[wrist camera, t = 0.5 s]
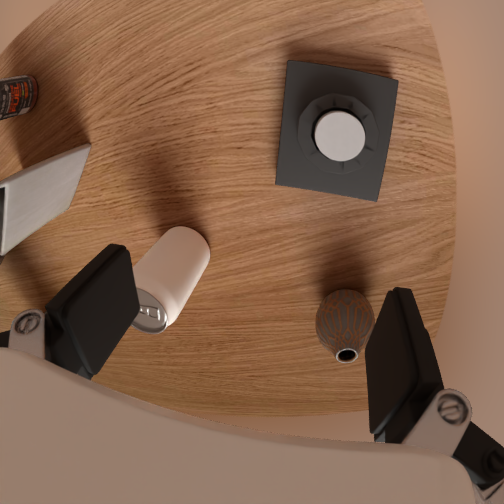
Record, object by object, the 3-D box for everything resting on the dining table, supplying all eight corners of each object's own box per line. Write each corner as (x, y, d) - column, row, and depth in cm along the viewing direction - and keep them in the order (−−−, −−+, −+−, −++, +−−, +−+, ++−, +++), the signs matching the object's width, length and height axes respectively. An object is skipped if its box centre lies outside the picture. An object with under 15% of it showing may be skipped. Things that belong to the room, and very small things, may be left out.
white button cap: (317, 106, 22) (318, 107, 21) (364, 115, 22) (368, 117, 20) (312, 151, 25) (311, 156, 23) (357, 159, 24) (360, 165, 22)
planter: (38, 216, 39) (-48, 282, 23) (23, 171, 36) (-72, 226, 19) (107, 200, 35) (-5, 285, 19) (90, 142, 31) (-39, 202, 15)
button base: (289, 62, 24) (285, 57, 20) (393, 81, 23) (405, 79, 19) (277, 179, 30) (272, 191, 27) (373, 195, 29) (380, 210, 25)
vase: (332, 271, 34) (334, 323, 27) (381, 291, 34) (392, 344, 27) (307, 312, 38) (302, 365, 30) (353, 329, 38) (356, 381, 30)
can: (161, 220, 35) (106, 276, 25) (212, 229, 34) (169, 293, 24) (163, 265, 38) (117, 326, 28) (210, 275, 38) (174, 344, 27)
